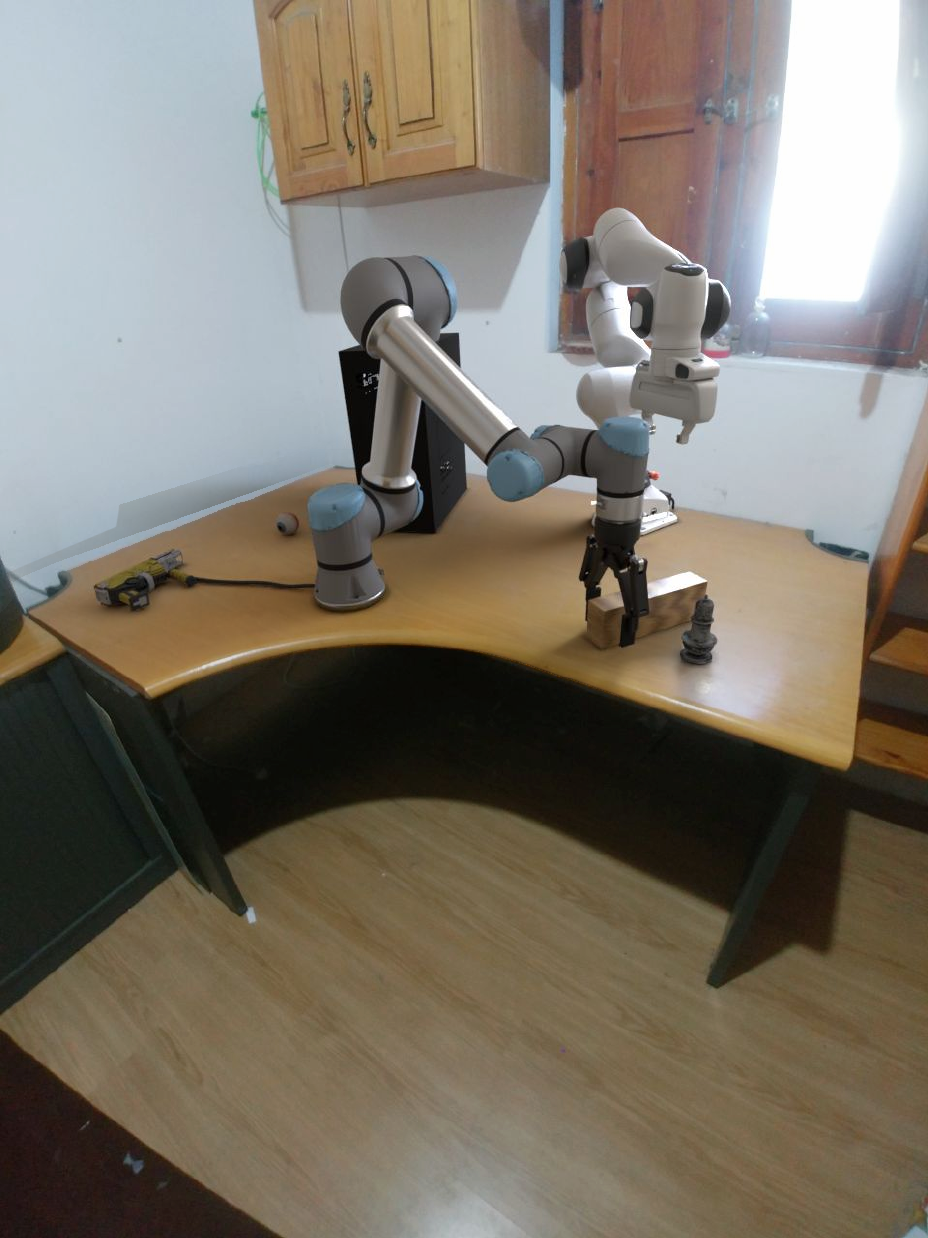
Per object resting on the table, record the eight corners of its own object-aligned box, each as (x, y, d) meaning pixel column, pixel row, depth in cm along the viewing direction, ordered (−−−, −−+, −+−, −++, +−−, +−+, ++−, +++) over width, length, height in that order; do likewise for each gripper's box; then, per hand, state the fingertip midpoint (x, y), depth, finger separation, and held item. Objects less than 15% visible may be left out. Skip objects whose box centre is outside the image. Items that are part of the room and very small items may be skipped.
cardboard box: (435, 533, 160) (420, 348, 138) (363, 530, 165) (338, 351, 142) (466, 488, 192) (459, 332, 169) (406, 486, 196) (390, 334, 174)
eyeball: (273, 537, 164) (268, 516, 161) (287, 528, 169) (282, 508, 166) (291, 539, 161) (286, 518, 158) (305, 530, 166) (301, 510, 163)
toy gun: (219, 557, 146) (169, 546, 150) (142, 598, 126) (87, 585, 129) (222, 574, 148) (172, 563, 152) (147, 618, 128) (92, 604, 132)
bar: (683, 606, 120) (689, 571, 116) (701, 617, 116) (707, 580, 112) (585, 637, 112) (588, 600, 108) (601, 649, 108) (604, 611, 104)
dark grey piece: (716, 666, 102) (728, 603, 96) (680, 663, 103) (689, 601, 97) (711, 647, 107) (722, 587, 101) (676, 645, 108) (685, 585, 102)
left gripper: (561, 501, 107) (558, 610, 118) (644, 543, 89) (631, 668, 100) (596, 493, 110) (590, 601, 121) (684, 533, 92) (666, 655, 103)
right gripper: (625, 360, 120) (619, 431, 127) (700, 371, 104) (689, 451, 111) (650, 356, 122) (643, 426, 129) (727, 367, 106) (715, 446, 113)
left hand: (608, 631), depth 111 cm, fingers open, 10 cm apart
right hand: (665, 438), depth 120 cm, fingers open, 8 cm apart
